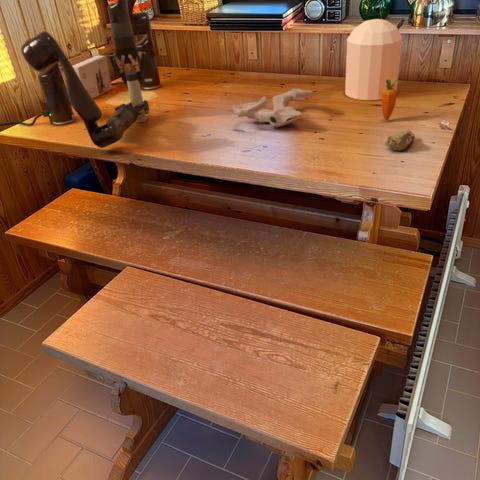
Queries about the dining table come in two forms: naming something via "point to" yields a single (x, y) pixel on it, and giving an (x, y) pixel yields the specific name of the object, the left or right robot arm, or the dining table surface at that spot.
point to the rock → (400, 140)
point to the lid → (131, 75)
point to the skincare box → (94, 75)
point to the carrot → (388, 99)
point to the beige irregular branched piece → (280, 112)
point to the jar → (136, 97)
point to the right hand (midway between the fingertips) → (132, 81)
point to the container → (372, 59)
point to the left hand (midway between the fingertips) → (139, 102)
